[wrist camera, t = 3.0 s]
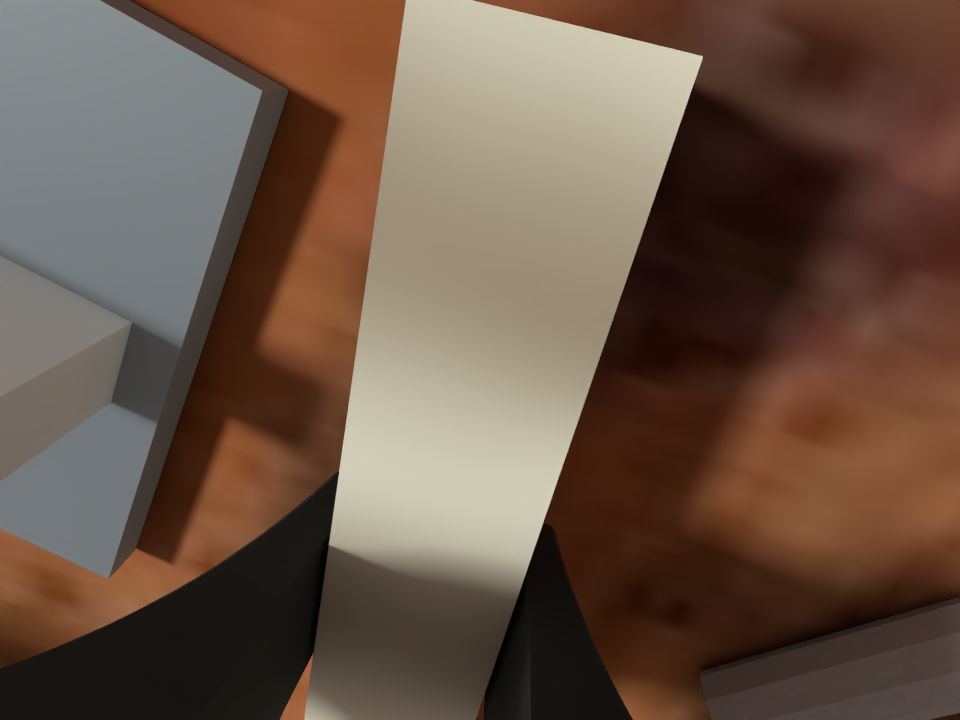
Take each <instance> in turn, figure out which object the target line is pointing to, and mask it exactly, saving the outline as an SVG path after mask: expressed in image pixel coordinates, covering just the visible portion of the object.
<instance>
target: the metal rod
mask: <svg viewBox="0 0 960 720" xmlns="http://www.w3.org/2000/svg"><path fill="white" fill-rule="evenodd" d="M700 681H701V685H702V690H703V694H704V698H705V702H706V705H707V707H708V710H709V713H710V716H711V718H712V720H931V719H935V718H939V717H944V716H948V715H952V714H957V713H960V597H957V598H953V599H950V600H946V601H943V602H939V603H936V604H932V605H929V606H925V607H922V608H918V609H915V610H911V611H908V612H905V613H901V614H898V615H894V616H891V617H887V618H884V619H880V620H877V621H873V622H870V623H866V624H863V625H859V626H856V627H852V628H849V629H845V630H842V631H838V632H835V633H831V634H828V635H824V636H821V637H817V638H814V639H811V640H807V641H804V642H800V643H797V644H793V645H790V646H786V647H783V648H779V649H776V650H772V651H769V652H765V653H762V654H758V655H755V656H751V657H748V658H744V659H741V660H737V661H734V662H730V663H727V664H723V665H720V666H717V667H713V668H710V669H706V670H703V671H701V673H700Z"/></svg>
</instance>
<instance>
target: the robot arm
mask: <svg viewBox="0 0 960 720" xmlns="http://www.w3.org/2000/svg"><path fill="white" fill-rule="evenodd" d="M338 477H339V472H337V473H335V474H334V475H333V476H332V477H331V478H330V479H328V480H327V481H326V482H325V483H324V484H323V485H322V486H321V487H320V488H318V489H317V490H316V491H315V492H314V493H313V494H312V495H310V496H309V497H308V498H307V499H306V500H305V501H303V502H302V503H301V504H300V505H299V506H297V507H296V508H295V509H294V510H292V511H291V512H290V513H289V514H287V515H286V516H285V517H283V518H282V519H281V520H280V521H278V522H277V523H276V524H275V525H273V526H272V527H271V528H269V529H268V530H267V531H265V532H264V533H263V534H261V535H260V536H259V537H257V538H256V539H254V540H253V541H251V542H250V543H249V544H247V545H246V546H244V547H243V548H241V549H240V550H239V551H237V552H236V553H234V554H233V555H231V556H230V557H228V558H227V559H226V560H224V561H222V562H221V563H219V564H218V565H216V566H215V567H213V568H212V569H210V570H208V571H207V572H205V573H204V574H202V575H200V576H199V577H197V578H195V579H194V580H192V581H190V582H188V583H187V584H185V585H183V586H182V587H180V588H178V589H176V590H175V591H173V592H171V593H169V594H167V595H165V596H164V597H162V598H160V599H158V600H156V601H154V602H152V603H150V604H148V605H147V606H145V607H143V608H141V609H139V610H137V611H135V612H133V613H131V614H129V615H127V616H125V617H123V618H121V619H119V620H117V621H115V622H113V623H111V624H108V625H106V626H104V627H102V628H99V629H97V630H95V631H93V632H90V633H88V634H86V635H83V636H81V637H79V638H77V639H74V640H72V641H70V642H67V643H65V644H63V645H61V646H58V647H56V648H54V649H51V650H49V651H46V652H44V653H42V654H39V655H37V656H34V657H31V658H29V659H26V660H24V661H21V662H18V663H15V664H12V665H10V666H7V667H4V668H1V669H0V720H280V718H281V715H282V713H283V711H284V709H285V707H286V705H287V703H288V701H289V699H290V697H291V695H292V693H293V691H294V689H295V687H296V685H297V683H298V682H299V680H300V678H301V676H302V674H303V672H304V670H305V668H306V666H307V664H308V662H309V660H310V658H311V656H312V654H313V652H314V647H315V640H316V632H317V625H318V618H319V611H320V604H321V597H322V590H323V583H324V576H325V569H326V562H327V555H328V548H329V541H330V534H331V527H332V520H333V513H334V505H335V498H336V491H337V484H338ZM484 720H633V719H632V717H631V716H630V714H629V712H628V710H627V708H626V706H625V705H624V703H623V701H622V699H621V697H620V695H619V694H618V692H617V690H616V688H615V686H614V684H613V682H612V680H611V678H610V676H609V674H608V672H607V670H606V668H605V666H604V664H603V662H602V659H601V657H600V655H599V653H598V651H597V648H596V646H595V644H594V642H593V640H592V637H591V635H590V633H589V630H588V628H587V626H586V623H585V621H584V618H583V615H582V613H581V610H580V608H579V605H578V603H577V600H576V597H575V595H574V592H573V589H572V587H571V584H570V581H569V578H568V575H567V572H566V569H565V566H564V562H563V559H562V556H561V552H560V549H559V545H558V542H557V538H556V533H555V531H554V529H553V528H552V526H550V525H546V524H543V525H542V528H541V531H540V534H539V537H538V540H537V542H536V545H535V548H534V551H533V554H532V557H531V560H530V563H529V566H528V569H527V572H526V575H525V577H524V580H523V583H522V586H521V589H520V592H519V595H518V598H517V601H516V604H515V607H514V610H513V612H512V615H511V618H510V621H509V624H508V627H507V630H506V633H505V636H504V639H503V642H502V645H501V647H500V650H499V653H498V656H497V659H496V662H495V665H494V668H493V671H492V674H491V677H490V680H489V682H488V685H487V688H486V692H485V708H484Z"/></svg>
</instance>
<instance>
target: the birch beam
mask: <svg viewBox="0 0 960 720" xmlns="http://www.w3.org/2000/svg"><path fill="white" fill-rule="evenodd" d="M702 58H703V56H699V55H695V54H691V53H687V52H683V51H679V50H675V49H670V48H666V47H662V46H658V45H654V44H650V43H646V42H642V41H637V40H633V39H629V38H625V37H621V36H617V35H613V34H609V33H604V32H600V31H596V30H592V29H588V28H584V27H580V26H576V25H571V24H567V23H563V22H559V21H555V20H551V19H547V18H543V17H539V16H534V15H530V14H526V13H522V12H518V11H514V10H510V9H506V8H501V7H497V6H493V5H489V4H485V3H481V2H477V1H473V0H406V4H405V11H404V18H403V26H402V33H401V40H400V47H399V54H398V61H397V68H396V75H395V82H394V89H393V96H392V103H391V110H390V117H389V124H388V131H387V138H386V146H385V153H384V160H383V167H382V174H381V181H380V188H379V195H378V202H377V209H376V216H375V223H374V230H373V237H372V244H371V251H370V258H369V265H368V273H367V280H366V287H365V294H364V301H363V308H362V315H361V322H360V329H359V336H358V343H357V350H356V357H355V364H354V371H353V378H352V385H351V393H350V400H349V407H348V414H347V421H346V428H345V435H344V442H343V449H342V456H341V463H340V470H339V477H338V484H337V491H336V498H335V505H334V513H333V520H332V527H331V534H330V541H329V548H328V555H327V562H326V569H325V576H324V583H323V590H322V597H321V604H320V611H319V618H318V625H317V632H316V640H315V647H314V654H313V661H312V668H311V675H310V682H309V689H308V696H307V703H306V710H305V717H304V720H476V717H477V715H478V712H479V709H480V706H481V703H482V700H483V697H484V694H485V691H486V688H487V685H488V682H489V680H490V677H491V674H492V671H493V668H494V665H495V662H496V659H497V656H498V653H499V650H500V647H501V645H502V642H503V639H504V636H505V633H506V630H507V627H508V624H509V621H510V618H511V615H512V612H513V610H514V607H515V604H516V601H517V598H518V595H519V592H520V589H521V586H522V583H523V580H524V577H525V575H526V572H527V569H528V566H529V563H530V560H531V557H532V554H533V551H534V548H535V545H536V542H537V540H538V537H539V534H540V531H541V528H542V525H543V522H544V519H545V516H546V513H547V510H548V507H549V505H550V502H551V499H552V496H553V493H554V490H555V487H556V484H557V481H558V478H559V475H560V472H561V470H562V467H563V464H564V461H565V458H566V455H567V452H568V449H569V446H570V443H571V440H572V437H573V435H574V432H575V429H576V426H577V423H578V420H579V417H580V414H581V411H582V408H583V405H584V402H585V400H586V397H587V394H588V391H589V388H590V385H591V382H592V379H593V376H594V373H595V370H596V367H597V365H598V362H599V359H600V356H601V353H602V350H603V347H604V344H605V341H606V338H607V335H608V332H609V330H610V327H611V324H612V321H613V318H614V315H615V312H616V309H617V306H618V303H619V300H620V297H621V295H622V292H623V289H624V286H625V283H626V280H627V277H628V274H629V271H630V268H631V265H632V262H633V260H634V257H635V254H636V251H637V248H638V245H639V242H640V239H641V236H642V233H643V230H644V227H645V225H646V222H647V219H648V216H649V213H650V210H651V207H652V204H653V201H654V198H655V195H656V192H657V190H658V187H659V184H660V181H661V178H662V175H663V172H664V169H665V166H666V163H667V160H668V157H669V155H670V152H671V149H672V146H673V143H674V140H675V137H676V134H677V131H678V128H679V125H680V122H681V120H682V117H683V114H684V111H685V108H686V105H687V102H688V99H689V96H690V93H691V90H692V87H693V85H694V82H695V79H696V76H697V73H698V70H699V67H700V64H701V61H702Z"/></svg>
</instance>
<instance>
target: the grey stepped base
mask: <svg viewBox="0 0 960 720" xmlns="http://www.w3.org/2000/svg"><path fill="white" fill-rule="evenodd" d="M288 92H289V89H287V88H285V87H283V86H282V85H280V84H278V83H276V82H275V81H273V80H271V79H269V78H267V77H266V76H264V75H262V74H260V73H258V72H257V71H255V70H253V69H251V68H250V67H248V66H246V65H244V64H242V63H241V62H239V61H237V60H235V59H233V58H232V57H230V56H228V55H226V54H224V53H223V52H221V51H219V50H217V49H216V48H214V47H212V46H210V45H208V44H207V43H205V42H203V41H201V40H199V39H198V38H196V37H194V36H192V35H191V34H189V33H187V32H185V31H183V30H182V29H180V28H178V27H176V26H174V25H173V24H171V23H169V22H167V21H166V20H164V19H162V18H160V17H158V16H157V15H155V14H153V13H151V12H149V11H148V10H146V9H144V8H142V7H141V6H139V5H137V4H135V3H133V2H132V1H130V0H0V529H2V530H4V531H6V532H8V533H10V534H13V535H15V536H17V537H19V538H21V539H23V540H25V541H28V542H30V543H32V544H34V545H36V546H38V547H41V548H43V549H45V550H47V551H49V552H51V553H54V554H56V555H58V556H60V557H62V558H64V559H66V560H69V561H71V562H73V563H75V564H77V565H79V566H82V567H84V568H86V569H88V570H90V571H92V572H94V573H97V574H99V575H101V576H103V577H105V578H107V579H109V578H110V577H111V576H112V575H113V574H114V573H115V571H116V570H117V569H118V568H119V567H120V566H121V565H122V564H123V563H124V562H125V561H126V559H127V558H128V557H129V556H130V555H131V554H132V553H133V552H134V551H135V549H136V546H137V543H138V540H139V537H140V534H141V532H142V529H143V526H144V523H145V520H146V517H147V514H148V511H149V508H150V505H151V502H152V499H153V496H154V493H155V490H156V487H157V484H158V481H159V478H160V475H161V472H162V469H163V466H164V463H165V460H166V457H167V454H168V451H169V448H170V445H171V442H172V439H173V436H174V433H175V430H176V427H177V424H178V421H179V418H180V415H181V412H182V409H183V406H184V403H185V400H186V397H187V394H188V391H189V388H190V385H191V382H192V379H193V376H194V373H195V370H196V367H197V364H198V361H199V358H200V355H201V352H202V349H203V346H204V343H205V340H206V337H207V334H208V331H209V328H210V325H211V322H212V319H213V316H214V313H215V310H216V307H217V304H218V301H219V298H220V295H221V292H222V289H223V286H224V283H225V280H226V277H227V274H228V271H229V268H230V265H231V262H232V259H233V256H234V253H235V250H236V247H237V244H238V241H239V238H240V235H241V233H242V230H243V227H244V224H245V221H246V218H247V215H248V212H249V209H250V206H251V203H252V200H253V197H254V194H255V191H256V188H257V185H258V182H259V179H260V176H261V173H262V170H263V167H264V164H265V161H266V158H267V155H268V152H269V149H270V146H271V143H272V140H273V137H274V134H275V131H276V128H277V125H278V122H279V119H280V116H281V113H282V110H283V107H284V104H285V101H286V98H287V95H288Z"/></svg>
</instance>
